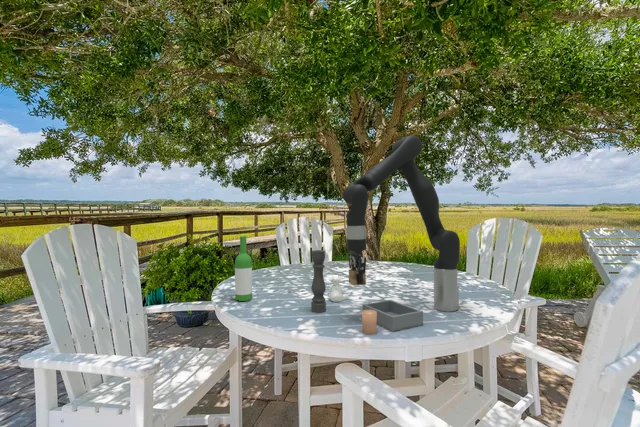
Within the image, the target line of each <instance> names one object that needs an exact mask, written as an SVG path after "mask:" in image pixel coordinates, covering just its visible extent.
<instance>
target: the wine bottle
mask: <svg viewBox="0 0 640 427" xmlns="http://www.w3.org/2000/svg"><path fill="white" fill-rule="evenodd" d="M247 250H248V247H247V236H246V235H245V236H244V235H243V236H242V235H241V236H240V237H239V254H238V255H237V256H236V257H235V261H234V293H235V294H234V295H235V296H234V297H235V301H237V300H239V301H246V302H249V301H248V300H250V301H251V300H252V299H253V263H252V262H253V259H252V257H251V256H250V255H249V253H247ZM239 301H238V302H239Z"/></svg>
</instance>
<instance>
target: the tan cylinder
mask: <svg viewBox="0 0 640 427" xmlns="http://www.w3.org/2000/svg"><path fill="white" fill-rule="evenodd" d="M361 318H362V320H361V328H362V329H361V332H362V334H364V335H368V334H369V335H368V336H371V335H373V336H374V335H376V334H377V333H378V324H377V311H375V310H363V311H361Z"/></svg>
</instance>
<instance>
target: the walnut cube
mask: <svg viewBox="0 0 640 427" xmlns="http://www.w3.org/2000/svg"><path fill="white" fill-rule="evenodd" d="M360 270H361V269H360ZM366 274H367V273H366V270H365V273H363V284H357V273H356V269H350V268H349V269H348V283H349V284H350V285H352V286H362V285H367V278H366V277H367V276H366Z"/></svg>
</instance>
